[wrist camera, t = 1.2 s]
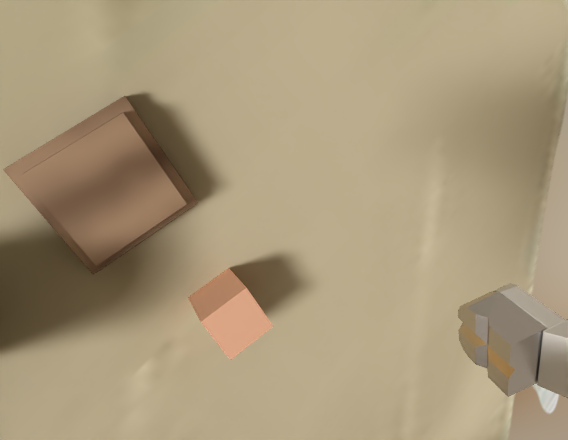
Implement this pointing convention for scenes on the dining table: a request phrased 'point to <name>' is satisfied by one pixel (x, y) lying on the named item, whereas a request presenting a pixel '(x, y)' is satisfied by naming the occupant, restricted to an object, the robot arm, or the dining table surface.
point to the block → (230, 313)
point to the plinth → (103, 185)
